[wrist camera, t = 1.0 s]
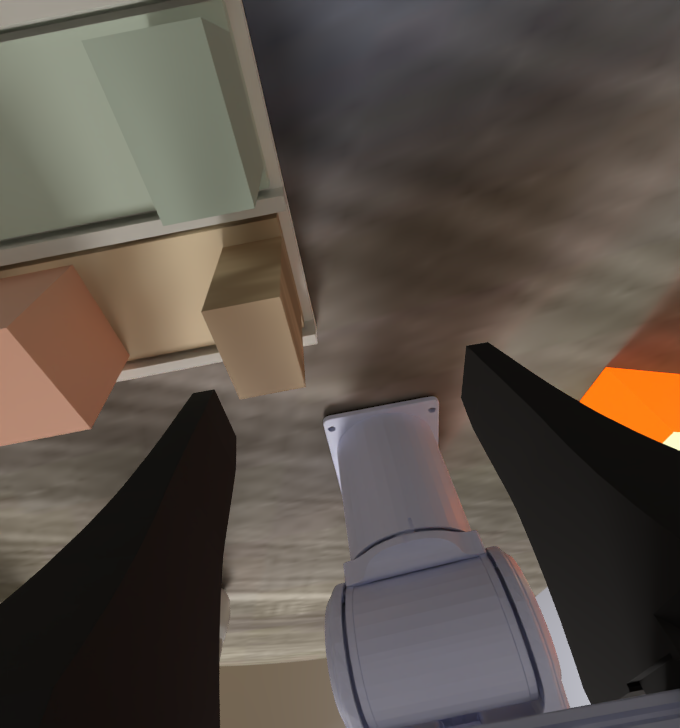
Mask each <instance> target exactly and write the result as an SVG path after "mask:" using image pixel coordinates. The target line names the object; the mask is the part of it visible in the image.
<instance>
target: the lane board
mask: <svg viewBox="0 0 680 728" xmlns="http://www.w3.org/2000/svg"><path fill="white" fill-rule="evenodd" d="M207 1H212V0H0V43H1V42H6V41H11V40H16V39H21V38H26V37H31V36H36V35H41V34H46V33H51V32H56V31H61V30H66V29H71V28H76V27H81V26H86V25H91V24H96V23H101V22H106V21H111V20H116V19H121V18H126V17H131V16H136V15H141V14H147V13H152V12H157V11H162V10H167V9H172V8H177V7H182V6H187V5H192V4H197V3H202V2H207ZM223 1H224V2H225V3H226V7H227V11H228V15H229V19H230V23H231V27H232V31H233V35H234V39H235V43H236V47H237V51H238V55H239V60H240V64H241V68H242V72H243V76H244V80H245V84H246V88H247V92H248V96H249V100H250V104H251V108H252V112H253V116H254V120H255V124H256V128H257V132H258V136H259V140H260V144H261V148H262V152H263V156H264V160H265V164H266V168H267V172H268V176H269V180H270V185H269V188H266V189H260V190H259V191H258V196H257V201H256V205H255V208H254V209H249V210H244V211H239V212H234V213H229V214H223V215H218V216H213V217H208V218H203V219H198V220H193V221H187V222H182V223H177V224H172V225H167V226H163V224H162V222H161V220H160V218H159V215H158V213H157V211H156V210H152V211H147V212H142V213H137V214H132V215H127V216H122V217H116V218H111V219H106V220H101V221H96V222H91V223H86V224H80V225H75V226H70V227H65V228H60V229H55V230H50V231H44V232H39V233H34V234H29V235H24V236H19V237H14V238H8V239H3V240H0V266H4V265H10V264H15V263H20V262H25V261H30V260H35V259H41V258H46V257H51V256H56V255H61V254H66V253H71V252H77V251H82V250H87V249H92V248H97V247H102V246H108V245H113V244H118V243H123V242H128V241H133V240H139V239H144V238H149V237H154V236H159V235H164V234H170V233H175V232H180V231H185V230H190V229H195V228H200V227H206V226H211V225H216V224H221V223H226V222H231V221H237V220H242V219H247V218H252V217H257V216H262V215H268V214H273V213H278V216H279V220H280V224H281V228H282V232H283V236H284V240H285V244H286V248H287V252H288V256H289V260H290V264H291V268H292V272H293V276H294V280H295V284H296V288H297V292H298V296H299V300H300V304H301V308H302V312H303V316H304V328H302V337H303V346H308V345H313V344H318V341H317V327H316V322H315V318H314V314H313V309H312V305H311V301H310V296H309V292H308V287H307V283H306V279H305V274H304V270H303V266H302V261H301V257H300V253H299V248H298V244H297V239H296V235H295V231H294V226H293V222H292V218H291V213H290V209H289V204H288V200H287V196H286V191H285V187H284V183H283V178H282V174H281V169H280V165H279V161H278V156H277V152H276V148H275V143H274V139H273V135H272V130H271V126H270V121H269V117H268V113H267V108H266V104H265V100H264V95H263V91H262V86H261V82H260V78H259V73H258V69H257V65H256V60H255V56H254V51H253V47H252V43H251V38H250V34H249V30H248V25H247V21H246V17H245V12H244V8H243V3H242V0H223ZM218 362H223V360H222V358H221V356H220V353H219V351H218V349H217V347H216V344H215V345H210V346H205V347H199V348H194V349H189V350H184V351H179V352H173V353H168V354H163V355H158V356H152V357H147V358H142V359H137V360H131V361H127V362H126V364H125V366H124V368H123V370H122V371H121V373H120V375H119V377H118V379H117V381H116V382H119V381H124V380H129V379H135V378H140V377H145V376H150V375H156V374H161V373H166V372H171V371H177V370H182V369H187V368H192V367H197V366H203V365H208V364H213V363H218Z"/></svg>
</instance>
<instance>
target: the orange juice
mask: <svg viewBox="0 0 680 728" xmlns="http://www.w3.org/2000/svg"><path fill="white" fill-rule="evenodd" d="M580 402H581V403H582V404H584V405H586V406H588V407H589V408H591V409H593V410H595V411H597V412H598V413H600V414H602V415H604V416H606V417H608V418H610V419H612V420H614V421H616V422H618V423H620V424H622V425H624V426H626V427H628V428H630V429H632V430H634V431H636V432H638V433H640V434H643V435H645V436H647V437H649V438H651V439H654V440H656V441H658V442H661V443H663V444H665V445H668V446H670V447H672V448H675V449H677V450H680V374H672V373H662V372H651V371H641V370H630V369H620V368H609V367H606V368H605V369H604V370H603V372H602V373H601V374H600V375H599V377H598V378H597V379H596V381H595V382H594V383H593V385H592V386H591V387H590V389H589V390H588V391H587V392H586V394H585V395H584V396H583V398H582V399H581V400H580Z"/></svg>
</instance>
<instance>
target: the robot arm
mask: <svg viewBox="0 0 680 728" xmlns="http://www.w3.org/2000/svg"><path fill="white" fill-rule="evenodd" d="M461 399H462V401H463V404H464V407H465V409H466V412H467V415H468V417H469V420H470V422H471V425H472V427H473V429H474V431H475V433H476V435H477V437H478V439H479V441H480V442H481V444H482V446H483V448H484V450H485V452H486V454H487V455H488V457H489V459H490V461H491V463H492V464H493V466H494V468H495V470H496V472H497V474H498V475H499V477H500V479H501V481H502V483H503V485H504V486H505V488H506V490H507V492H508V494H509V496H510V498H511V500H512V502H513V504H514V506H515V508H516V510H517V512H518V514H519V517H520V519H521V521H522V524H523V526H524V529H525V531H526V533H527V536H528V538H529V540H530V543H531V545H532V548H533V550H534V553H535V555H536V558H537V560H538V563H539V565H540V568H541V570H542V573H543V575H544V578H545V580H546V583H547V586H548V588H549V591H550V594H551V596H552V599H553V602H554V604H555V607H556V610H557V612H558V615H559V618H560V620H561V623H562V626H563V629H564V632H565V635H566V638H567V641H568V644H569V646H570V649H571V652H572V655H573V658H574V661H575V664H576V666H577V670H578V673H579V676H580V679H581V682H582V685H583V688H584V690H585V693H586V695H587V697H588V699H589V701H590V703H591V705H585V706H581V707H574V708H570V706H569V703H568V700H567V697H566V694H565V691H564V687H563V684H562V681H561V669H560V665H559V661H558V658H557V654H556V651H555V647H554V644H553V642H552V638H551V636H550V633H549V630H548V628H547V625H546V622H545V620H544V617H543V615H542V613H541V610H540V608H539V606H538V603H537V601H536V599H535V596H534V594H533V592H532V590H531V588H530V586H529V584H528V582H527V580H526V578H525V576H524V574H523V573H522V571H521V569H520V567H519V566H518V564H517V563H516V561H515V560H514V559H513V558H512V557H511V556H510V555H508V554H506V553H505V552H503V551H502V550H501V549H500V548H498V547H497V546H492V547H488V548H486V549H485V548H484V546H483V543H482V541H481V538H480V536H479V533H478V531H477V530H473V531H471V528H470V525H469V523H468V520H467V518H466V515H465V513H464V510H463V508H462V505H461V503H460V500H459V498H458V495H457V493H456V490H455V488H454V485H453V483H452V480H451V478H450V475H449V472H448V470H447V467H446V465H445V462H444V460H443V457H442V455H441V452H440V450H439V447H438V442H439V401H438V399H437V398H436V397H434V396H430V397H425V398H419V399H414V400H409V401H403V402H398V403H393V404H388V405H382V406H377V407H372V408H366V409H361V410H356V411H351V412H345V413H340V414H335V415H329V416H326V417H325V418H324V419H323V425H324V429H325V433H326V437H327V440H328V444H329V448H330V452H331V455H332V459H333V463H334V467H335V470H336V474H337V478H338V482H339V485H340V489H341V493H342V497H343V504H344V512H345V520H346V527H347V535H348V543H349V550H350V558H351V561H348V562H345V563H344V564H343V565H344V574H345V583H341V584H338V585H336V586H335V588H334V589H333V592H332V595H331V597H330V599H329V601H328V603H327V607H326V613H325V645H326V655H327V663H328V670H329V676H330V681H331V686H332V691H333V695H334V698H335V701H336V705H337V708H338V711H339V713H340V716H341V718H342V719H343V721H344V723H345V726H346V728H680V450H677V449H675V448H672V447H670V446H668V445H665V444H663V443H661V442H658V441H656V440H654V439H651V438H649V437H647V436H645V435H643V434H640V433H638V432H636V431H634V430H632V429H630V428H628V427H626V426H624V425H622V424H620V423H618V422H616V421H614V420H612V419H610V418H608V417H606V416H604V415H602V414H600V413H598V412H597V411H595V410H593V409H591V408H589V407H588V406H586V405H584V404H582V403H581V402H579V401H577V400H575V399H574V398H572V397H570V396H568V395H567V394H565V393H564V392H562V391H560V390H559V389H557V388H555V387H554V386H552V385H551V384H549V383H547V382H546V381H544V380H543V379H541V378H540V377H538V376H537V375H535V374H534V373H532V372H531V371H529V370H528V369H526V368H525V367H523V366H522V365H520V364H519V363H517V362H516V361H515V360H513V359H512V358H510V357H509V356H507V355H506V354H504V353H503V352H501V351H500V350H499V349H497V348H496V347H494V346H493V345H491V344H489V343H488V342H487V343H481V344H475V345H469V346H466V354H465V365H464V375H463V385H462V395H461ZM430 408H431V409H430ZM235 471H236V435H235V433H234V431H233V429H232V427H231V424H230V422H229V420H228V418H227V416H226V414H225V411H224V409H223V407H222V405H221V403H220V401H219V398H218V396H217V394H216V392H215V390H209V391H203V392H198V393H193V394H192V396H191V397H190V398H189V400H188V401H187V402H186V404H185V405H184V406H183V408H182V409H181V411H180V412H179V413H178V415H177V416H176V418H175V419H174V421H173V422H172V423H171V425H170V426H169V428H168V429H167V430H166V432H165V433H164V434H163V436H162V437H161V439H160V440H159V441H158V443H157V444H156V445H155V447H154V448H153V449H152V451H151V452H150V453H149V455H148V456H147V457H146V458H145V460H144V461H143V462H142V463H141V465H140V466H139V467H138V468H137V470H136V471H135V472H134V473H133V475H132V476H131V477H130V478H129V479H128V481H127V482H126V483H125V484H124V486H123V487H122V488H121V489H120V490H119V491H118V493H117V494H116V495H115V496H114V497H113V498H112V499H111V500H110V502H109V503H108V504H107V505H106V506H105V507H104V508H103V509H102V510H101V511H100V512H99V513H98V514H97V515H96V517H95V518H94V519H93V520H92V521H91V522H90V523H89V524H88V525H87V526H86V527H85V528H84V529H83V530H82V531H81V532H80V533H79V534H78V535H77V536H76V537H75V538H74V539H72V540H71V541H70V542H69V543H68V544H67V545H66V546H65V547H64V548H63V549H62V550H61V551H60V552H59V553H58V554H57V555H56V556H55V557H54V558H53V559H51V560H50V561H49V562H48V563H47V564H46V565H45V566H44V567H43V568H42V569H41V570H40V571H38V572H37V573H36V574H35V575H34V576H33V577H32V578H30V579H29V580H28V581H27V582H26V583H25V584H24V585H22V586H21V587H20V588H19V589H18V590H17V591H15V592H14V593H13V594H12V595H11V596H9V597H8V598H7V599H6V600H5V601H3V602H2V603H1V604H0V728H220V708H219V707H220V704H219V643H220V606H221V583H222V564H223V554H224V544H225V538H226V531H227V525H228V518H229V512H230V505H231V499H232V492H233V485H234V478H235Z"/></svg>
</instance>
